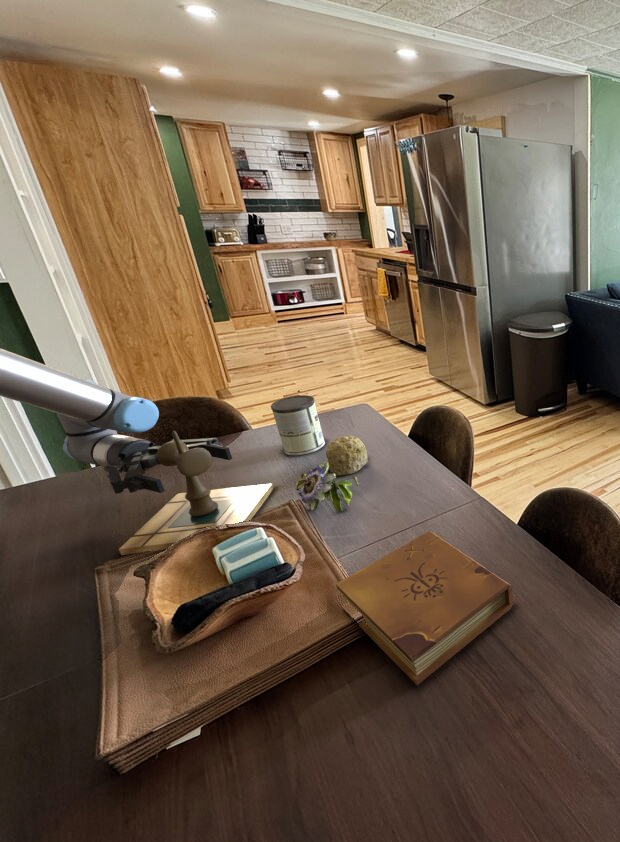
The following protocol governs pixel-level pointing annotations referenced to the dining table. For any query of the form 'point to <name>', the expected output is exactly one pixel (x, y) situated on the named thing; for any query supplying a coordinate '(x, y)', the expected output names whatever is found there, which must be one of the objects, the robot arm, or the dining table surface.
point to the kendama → (190, 472)
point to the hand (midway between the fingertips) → (196, 469)
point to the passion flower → (323, 488)
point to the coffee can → (298, 424)
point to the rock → (346, 455)
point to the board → (180, 524)
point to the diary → (426, 602)
